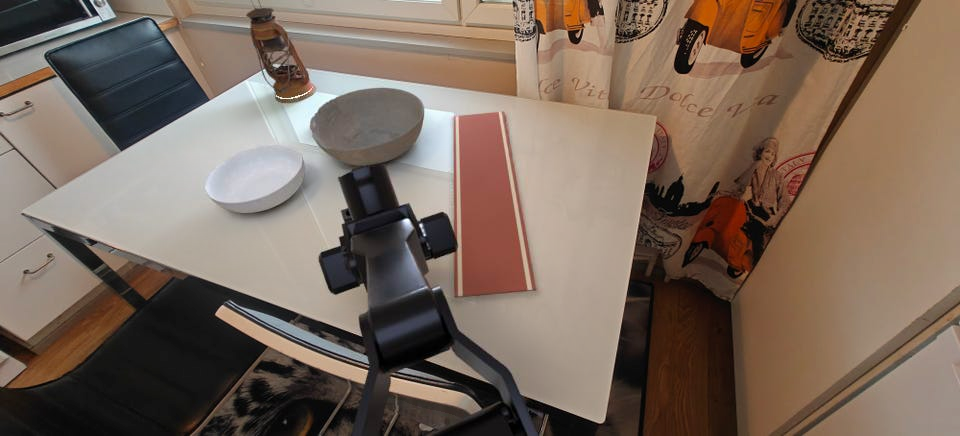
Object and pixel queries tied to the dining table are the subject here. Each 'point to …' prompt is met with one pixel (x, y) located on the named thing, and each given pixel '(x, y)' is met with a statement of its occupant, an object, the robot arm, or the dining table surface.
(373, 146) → the bowl
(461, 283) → the red table runner
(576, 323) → the dining table surface
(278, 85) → the lantern
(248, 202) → the serving bowl
